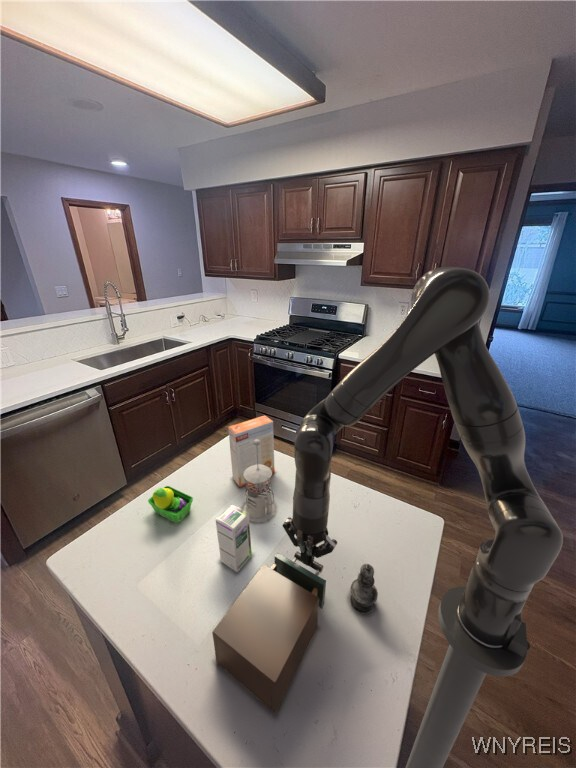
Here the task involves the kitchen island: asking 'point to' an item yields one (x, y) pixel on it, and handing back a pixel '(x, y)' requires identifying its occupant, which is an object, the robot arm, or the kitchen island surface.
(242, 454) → the cracker box
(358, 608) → the stone chess piece
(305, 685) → the kitchen island surface
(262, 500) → the french press
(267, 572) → the cabinet
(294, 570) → the drawer
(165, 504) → the fruit basket
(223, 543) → the syrup box
